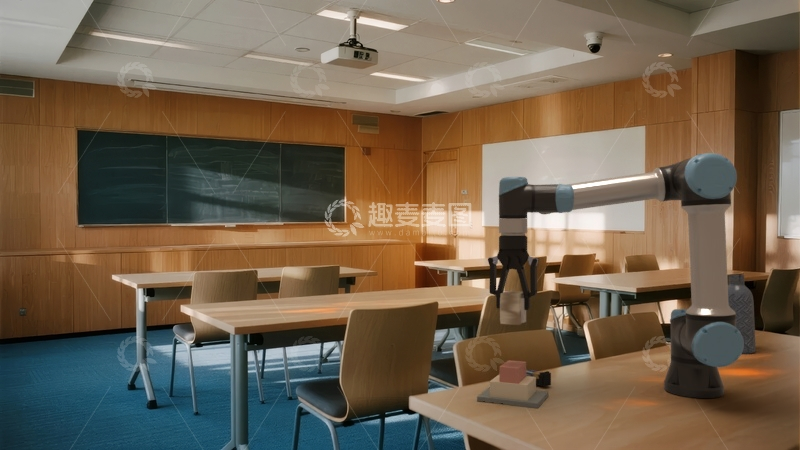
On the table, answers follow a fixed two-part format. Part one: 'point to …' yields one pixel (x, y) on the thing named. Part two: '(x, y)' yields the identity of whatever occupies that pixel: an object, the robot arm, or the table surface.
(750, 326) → the vase
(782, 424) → the table surface
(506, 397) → the tiered block stack
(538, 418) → the table surface
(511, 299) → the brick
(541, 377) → the brush
